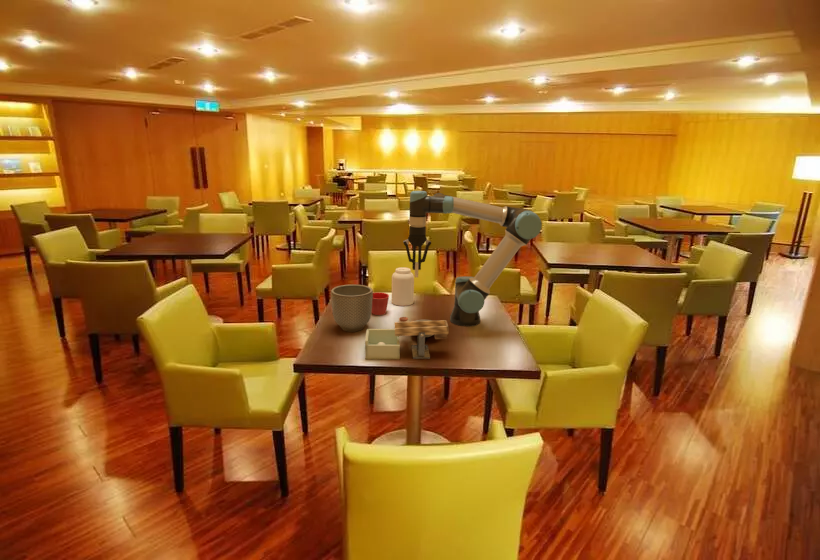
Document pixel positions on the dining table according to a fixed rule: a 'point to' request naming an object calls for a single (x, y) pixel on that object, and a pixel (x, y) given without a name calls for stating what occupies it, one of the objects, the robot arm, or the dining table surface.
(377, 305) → the flower pot
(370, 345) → the cream open box
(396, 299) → the white bottle
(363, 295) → the planter
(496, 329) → the dining table surface
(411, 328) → the lever
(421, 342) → the stand
